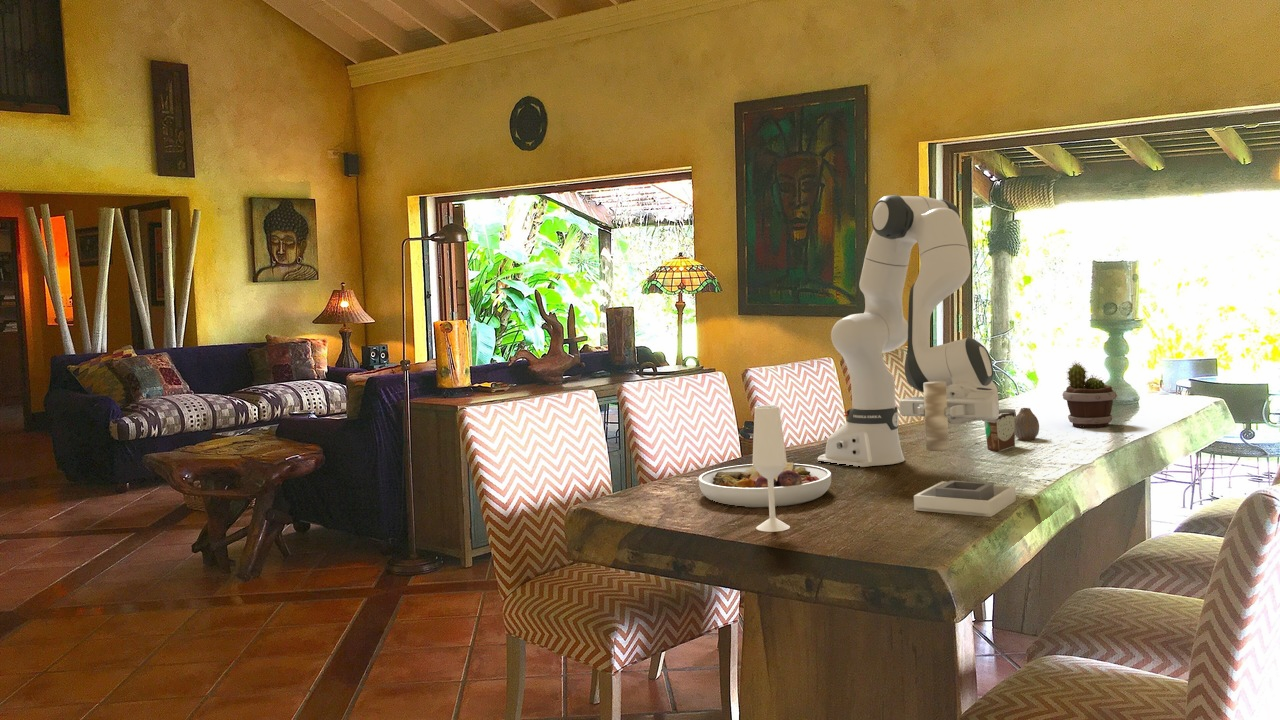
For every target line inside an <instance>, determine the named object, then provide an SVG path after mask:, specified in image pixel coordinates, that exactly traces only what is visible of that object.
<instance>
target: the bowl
mask: <svg viewBox="0 0 1280 720" xmlns="http://www.w3.org/2000/svg"><path fill="white" fill-rule="evenodd" d="M831 483H832V472H831V471H830V470H828V469H827V468H824V467H821V466H817V465H812V464H800V463H794V462H793V461H792V462H788V461H787V464H786V466H785V468H784V469H783V471H782V472H781V473H780V474H779V475H778V476H777V477H776V478H774V498H775V508H776V507H777V506H778V507H786V506H794V505H800V504H805V503H808V502H811V501H814V500H816V499H818V498H820V497H822V496H823V495H824V494H825V493H826V492H827V491H828V490H829V488H830V486H831ZM698 486H699V488H700V489H699V490H700V491H701V493H702V495H703V496H705V497H706V498H707V499H708V500H710V501H712V500H713V501H712V502H714V501H715V502H714V503H716V502H719V503H724V504H730V505H735V506H734V507H737V506H745V507H744V508H769V498H768V479H766V478H765V477H763V476H762V475H761V474H760V473H759V472H758V471H757V470H756V469H755V467H754V466H753V463H750V464H740V465H732V466H725V467H720V468H716V469H712V470H708V471H706V472H703V473H702V474H700V475H699V476H698ZM719 503H718V504H719Z"/></svg>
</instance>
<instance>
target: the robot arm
mask: <svg viewBox="0 0 1280 720" xmlns="http://www.w3.org/2000/svg"><path fill="white" fill-rule="evenodd" d="M871 211H872V212H871V220H870V221H871V224H872V225H871V226H872V228H873V229H872V232H871V235H870V237H869V238H870V239H868V240H869V241H868V243H867V246H866V247H867V248H866V252H865V255H864V260H863V266H862V269H861V273H860V278H859V283H858V285H859V290H860V291H861V293H862V294H863V296H864V304H865V305H864V312H863V313H853V314H849V315H847V316H845V317H843V318H840V319H839V320H837V321H836V322H835V324H834V325H833V327H832V328H831V332H830V339H831V343H832V345H833V347H834V349H835V350H836V352H838V354H840V355H841V357H842V359H843V360H844V363H845V365H846V368H847V372H848V376H849V378H850V386H851V387H850V389H851V390H850V391H851V401H852V402H851V404H852V407H851V408H849V409H848V410H846V411H844V412H843V417H846V422H845V423H844V424H843V425H841V426H840V427H839V428H837V430H835V431H834V432H833V433H831V434H830V435H829V436H828V438H827V441H826V445H825V452H824V453H823V454H821V455H819V456H818V457H817V460H818V461H824V462H831V463H837V464H836V465H839V464H846V465H845V466H849V465H853V466H852V467H858V466H860V468H865V467H872V466H873V467H874V466H885V465H887V466H888V465H894V464H900V463H902V462H904V461H905V460H906V459H905V457H904V454H903V450H902V447H901V440H900V437H899V431H898V429H899V415H900V416H902V417H920V418H921V417H923V418H925V407H924V396H913V397H907V398H902V399H900V400H899V403H898V407H897V405H896V401H897V400H896V381H895V376H894V375H893V374H892V372H890V371H889V369H888V368H887V366H886V363H885V360H884V357H883V354H885V353H890V352H894V351H895V350H898V349H899V348H900V347H902V346H904V345H905V344H906V343H907V345H906V346H907V349H906V354H905V355H906V356H905V362H904V375H905V380H906V381H907V383H908V385H910V386H911V387H912V388H913V389H915V390H916V391H918V392H921V393H923V394H924V387H923V383H925V382H946V395H947V407H946V408H945V412H946V413H945V415H946V416H948V424H952V425H964V424H966V423H968V424H969V423H973V422H977V421H982V420H995V419H998V416H999V410H1000V402H999V401H1000V400H999V391H998V387H997V386H996V384H995V382H993V378H994V366H993V362H992V358H991V356H990V353H989V351H988V350H987V348H986V347H985V345H983V344H982V343H980V342H979V341H978V340H977V339H975V338H972V337H966V338H961V339H957V340H953V341H950V342H948V343H944V344H943V343H942V344H939V345H935V346H932V347H930V346H931V345H930V343H931V339H930V337H931V318H932V317H931V316H932V314H933V312H934V310H935V308H936V307H938V305H940V303H942V302H943V301H944V300H945V299H946V298H948V297H949V296H950V295H952V294H954V293H955V292H956V291H958V290H959V289H960V288H961V287H962V286H963V285H964V284H965V283H966V281H967V280H968V278H969V277H970V274H971V268H972V262H971V261H972V260H971V256H970V255H971V254H970V249H969V244H968V238H967V235H966V232H965V228H964V226H963V223H962V220H961V215H960V210H959V208H958V206H957V205H955V204H954V203H952V202H951V201H949V200H946V199H943V198H941V199H940V198H939V199H937V198H933V197H928V196H923V195H922V196H921V195H915V196H914V195H912V196H911V195H898V194H893V195H892V194H891V195H885V196H883V197H881V198H879V199H878V201H876V203H875V205H874V207H873V209H872V210H871ZM916 244H917V245H918V254H919V262H920V263H919V265H920V267H919V272H918V275H917V278H916V281H915V282H914V283H913V284H912V286H911V287H910V289H909V296H908V311H907V313H908V314H907V318H908V319H907V320H906V318H905V316H904V308H903V295H904V294H903V293H904V287H905V283H906V279H907V274H908V268H909V264H910V259H911V253H912V250H913V247H914V246H915V245H916ZM898 408H899V409H898ZM818 461H817V462H818Z"/></svg>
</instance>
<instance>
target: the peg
mask: <svg viewBox="0 0 1280 720" xmlns="http://www.w3.org/2000/svg"><path fill="white" fill-rule="evenodd" d="M923 387H924V393H923V397H924V407H925V417H924V423H925V426H924V427H925V445H926V451H928V452H946V451H949V450H950V439H949V422H948V416H946V415H945V413H946V412H945V408H946V407H947V395H946V382H925V383H923Z"/></svg>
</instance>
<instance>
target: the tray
mask: <svg viewBox="0 0 1280 720" xmlns="http://www.w3.org/2000/svg"><path fill="white" fill-rule="evenodd" d="M1016 494H1017V493H1016V486H1013V485H1012V486H1011V485H998V484H994V482H982V481H981V482H980V481H979V482H978V481H966V480H953V479H952V480H949V481H943V480H942V481H940V482H938V483H935V484H934V485H932V486H930V487H928V488H926V489H924V490H922V491H920V492H918V493H916V494H914V495H913V507H914V508H913V510H914V511H921V512H933V513H942V514H944V513H945V514H955V515H965V516H978V517H987V518H988V517H989V518H991V517H993V516H995V515H997V514H998V513H999V512H1000V511H1003V510H1004V509H1006V508H1007V507H1008V506H1010V505H1012V504H1013V503H1015V502H1016V501H1017V495H1016Z"/></svg>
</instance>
